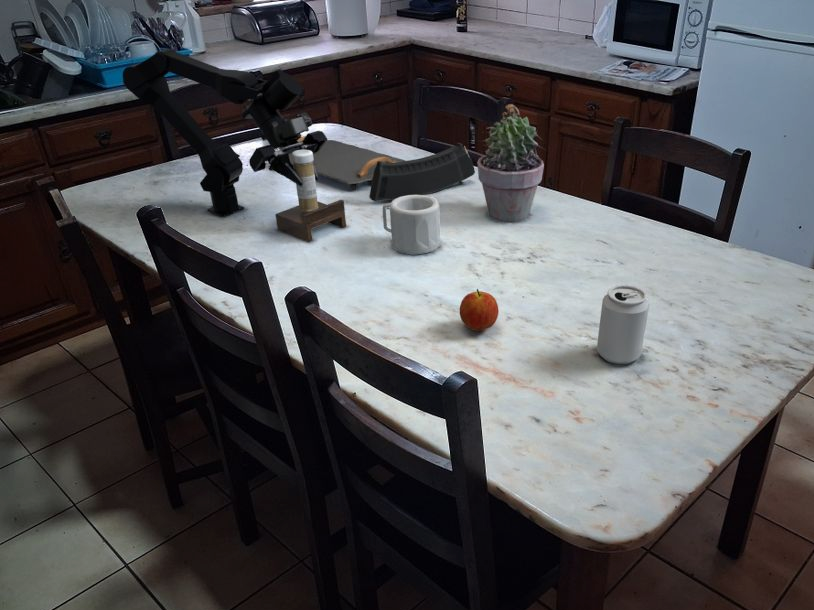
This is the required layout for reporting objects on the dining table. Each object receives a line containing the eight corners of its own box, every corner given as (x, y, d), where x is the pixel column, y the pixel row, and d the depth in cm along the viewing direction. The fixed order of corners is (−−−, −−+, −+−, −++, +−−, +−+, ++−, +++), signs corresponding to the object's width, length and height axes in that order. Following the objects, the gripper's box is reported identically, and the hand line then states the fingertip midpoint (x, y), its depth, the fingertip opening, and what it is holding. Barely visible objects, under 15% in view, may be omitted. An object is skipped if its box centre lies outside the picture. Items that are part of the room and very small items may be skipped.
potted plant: (494, 237, 160) (497, 127, 146) (459, 208, 175) (459, 105, 161) (562, 225, 166) (571, 118, 153) (523, 197, 181) (528, 98, 168)
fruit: (501, 320, 129) (502, 282, 125) (493, 340, 124) (495, 300, 119) (464, 316, 130) (464, 277, 126) (455, 335, 125) (455, 295, 120)
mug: (448, 240, 159) (447, 198, 153) (426, 259, 151) (424, 215, 145) (396, 230, 164) (394, 188, 158) (372, 247, 155) (368, 205, 150)
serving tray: (264, 165, 202) (261, 143, 199) (326, 146, 217) (323, 126, 214) (357, 196, 182) (355, 172, 178) (417, 173, 197) (416, 151, 193)
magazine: (363, 173, 170) (462, 119, 178) (357, 169, 172) (455, 116, 181) (385, 231, 181) (477, 178, 190) (379, 227, 183) (470, 174, 192)
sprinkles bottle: (315, 204, 165) (309, 147, 157) (321, 211, 161) (315, 153, 154) (296, 207, 163) (289, 150, 155) (301, 214, 159) (294, 156, 152)
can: (591, 343, 123) (598, 282, 116) (633, 341, 123) (643, 281, 117) (602, 368, 116) (610, 305, 110) (646, 365, 117) (657, 303, 110)
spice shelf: (277, 230, 164) (273, 203, 160) (315, 215, 171) (312, 189, 168) (308, 242, 158) (305, 215, 154) (346, 226, 165) (343, 200, 162)
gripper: (248, 110, 145) (290, 174, 145) (317, 93, 157) (355, 152, 158) (232, 140, 153) (271, 201, 154) (298, 123, 166) (334, 178, 166)
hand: (309, 182), depth 158 cm, fingers closed on sprinkles bottle, 4 cm apart
